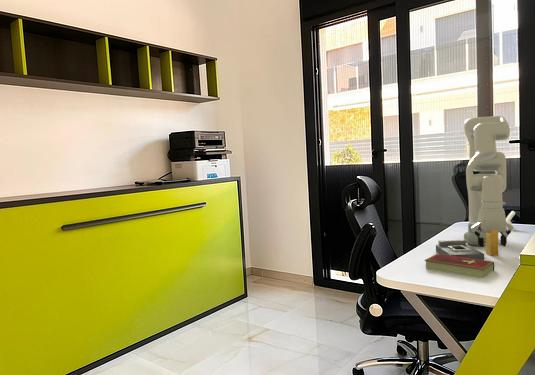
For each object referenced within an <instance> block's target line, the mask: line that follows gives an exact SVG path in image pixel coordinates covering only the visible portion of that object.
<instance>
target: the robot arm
mask: <svg viewBox="0 0 535 375" xmlns="http://www.w3.org/2000/svg"><path fill="white" fill-rule="evenodd" d="M463 129H464V134H465V136H466V138H467V141H468V145H469V161H468V163H467V165H466V168H465V177H466V178H465V180H466V188H467V189H466V190H467V196H468V224H469V223H472V222H476V223H477V224H475V225H474V226H472V227H471V230H472V231H473V233H474V234H475V235H476V236H477V237H478V245H479V247H481V248H484V247H485V244H484V238H482V237H483V235H484V234H486V233H490V232H491V230H498V233H499V234H500V238H499V239H500V241H499V242H500V243H499V245H500V246H501V247H504V248H505V247H506V246H507V241H508V240H507V238H508V237H509V235H510V234H511V232H513V231H512V229H513V228H514V227H515V226H514V225H513V224H512V225H510V224H508V223H506V218H507V216H506V211H505V208H504V206H506V202H505V201H503V192H505V191H506V189H507V159H506V155H505V154H504V153H503V152H502V151H497V145H496V144H497V143H496V141H506V140H508V139H509V137H510V135H511V129H510V125H509V123H508V121H507V120H506V118H505V117H504V116H502V115H496V116H495V115H494V116H479V117H471V118H468V119H466V120H465V121H464V124H463ZM474 172H495V173H475V174H474ZM506 226H507V227H508V229H507V230H506ZM513 226H514V227H513ZM476 228H477V229H478V230H479V232H477V231H476Z"/></svg>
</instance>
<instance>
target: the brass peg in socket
mask: <svg viewBox="0 0 535 375" xmlns="http://www.w3.org/2000/svg"><path fill="white" fill-rule="evenodd" d="M485 253H486V255H489V256H490V257H499V232H498V230H491V232H490V233H486V244H485Z"/></svg>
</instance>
